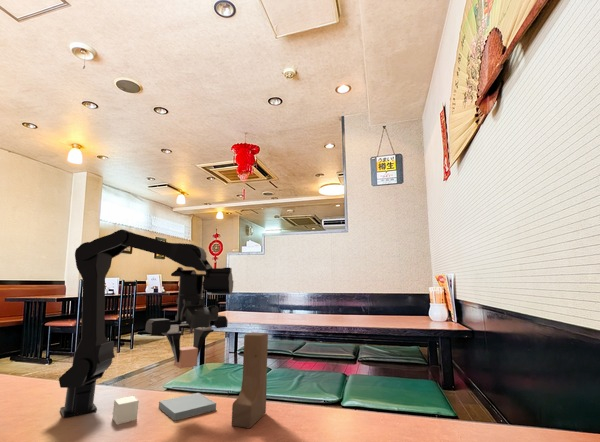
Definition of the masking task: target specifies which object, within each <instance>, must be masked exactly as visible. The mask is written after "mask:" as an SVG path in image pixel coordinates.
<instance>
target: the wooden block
mask: <svg viewBox="0 0 600 442" xmlns="http://www.w3.org/2000/svg"><path fill="white" fill-rule="evenodd" d="M243 337H244V338H243V340H244V341H243V356H242V357H243V358H242V359H243V360H242V361H243V363H242V380H241V387H240V392H239V394H238V397H237V398H236V399H235V401H234V402H232V405H231V406H232V407H231V426H232V427H237V428H246V429H251V428H253V426H254V425H255V424H256V423H257V422H258V421H259V420H260V419H261V418H262V417H263V416H264V415H265V414H266V411H267V387H268V386H267V384H268V383H267V380H268V379H267V377H268V376H267V375H268V349H269V348H268V344H269V343H268V342H269V334H268V333H267V332H254V331H253V332H248V333H247V334H244V336H243Z"/></svg>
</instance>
